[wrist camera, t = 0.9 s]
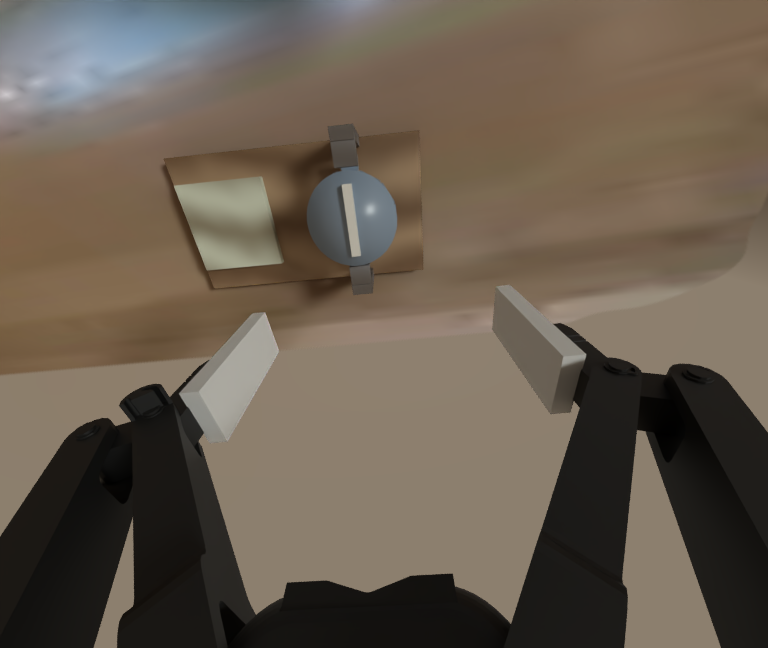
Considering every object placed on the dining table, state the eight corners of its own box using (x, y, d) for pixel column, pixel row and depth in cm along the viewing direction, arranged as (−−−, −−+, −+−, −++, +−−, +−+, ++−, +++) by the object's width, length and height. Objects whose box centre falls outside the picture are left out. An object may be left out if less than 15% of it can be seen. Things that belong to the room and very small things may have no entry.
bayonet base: (170, 157, 29) (111, 150, 23) (417, 129, 28) (428, 115, 22) (219, 286, 36) (184, 309, 30) (422, 268, 35) (430, 287, 29)
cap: (307, 160, 27) (291, 155, 22) (390, 151, 27) (392, 144, 22) (328, 269, 32) (318, 285, 27) (398, 262, 32) (401, 277, 27)
